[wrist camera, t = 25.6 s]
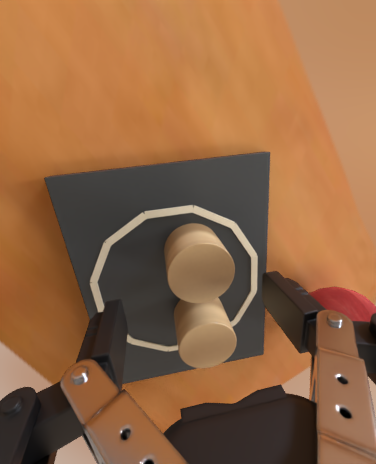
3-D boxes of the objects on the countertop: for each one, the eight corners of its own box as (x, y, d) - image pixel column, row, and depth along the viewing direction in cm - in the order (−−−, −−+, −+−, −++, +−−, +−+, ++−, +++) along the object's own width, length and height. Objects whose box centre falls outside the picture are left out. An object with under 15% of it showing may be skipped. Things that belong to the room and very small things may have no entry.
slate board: (112, 377, 21) (111, 387, 20) (49, 176, 14) (42, 178, 13) (260, 347, 22) (264, 355, 21) (264, 151, 16) (271, 152, 15)
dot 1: (159, 227, 16) (162, 249, 12) (217, 219, 16) (234, 237, 13) (168, 277, 17) (172, 309, 14) (220, 268, 17) (236, 296, 14)
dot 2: (170, 295, 18) (174, 329, 14) (220, 286, 18) (236, 317, 15) (176, 335, 19) (182, 374, 16) (223, 326, 19) (237, 362, 16)
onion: (342, 304, 22) (441, 386, 14) (288, 332, 22) (357, 426, 15) (330, 257, 20) (438, 326, 12) (269, 288, 20) (340, 374, 12)
